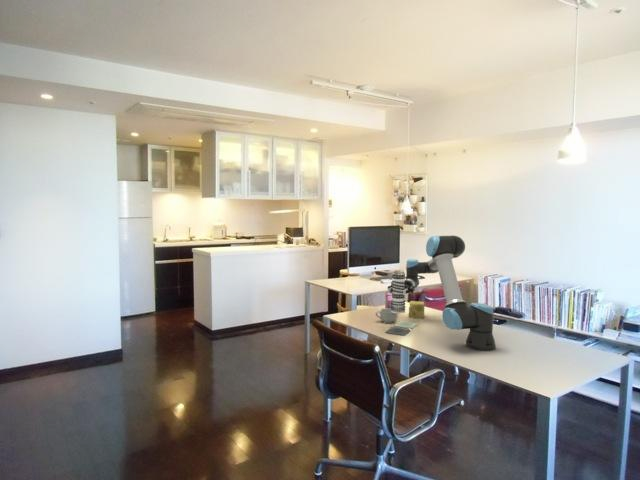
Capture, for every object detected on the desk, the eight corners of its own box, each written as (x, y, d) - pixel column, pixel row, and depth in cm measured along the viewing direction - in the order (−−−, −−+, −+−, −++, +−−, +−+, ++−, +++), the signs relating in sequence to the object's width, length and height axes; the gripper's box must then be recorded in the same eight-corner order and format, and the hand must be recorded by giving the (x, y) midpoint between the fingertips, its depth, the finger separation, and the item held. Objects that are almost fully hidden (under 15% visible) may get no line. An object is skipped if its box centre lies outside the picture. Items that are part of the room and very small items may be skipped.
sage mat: (417, 324, 277) (417, 323, 277) (412, 329, 266) (412, 328, 266) (399, 322, 282) (399, 321, 282) (393, 326, 272) (393, 325, 272)
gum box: (397, 319, 290) (397, 299, 289) (385, 318, 291) (385, 298, 290) (395, 310, 314) (396, 292, 313) (384, 310, 315) (385, 291, 314)
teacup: (396, 320, 287) (396, 308, 287) (397, 324, 277) (397, 312, 276) (375, 319, 289) (375, 307, 288) (375, 323, 278) (375, 311, 277)
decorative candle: (408, 313, 256) (409, 271, 254) (394, 314, 254) (395, 272, 252) (401, 309, 265) (402, 269, 263) (387, 310, 263) (388, 270, 261)
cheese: (408, 318, 293) (408, 303, 292) (409, 314, 303) (410, 300, 302) (424, 319, 290) (424, 304, 289) (424, 315, 300) (425, 301, 299)
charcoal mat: (410, 330, 263) (410, 329, 263) (404, 335, 252) (404, 334, 252) (391, 328, 268) (391, 327, 268) (385, 333, 258) (385, 332, 258)
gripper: (423, 293, 269) (413, 300, 250) (391, 289, 280) (378, 296, 260) (424, 281, 269) (413, 287, 249) (391, 278, 279) (379, 284, 259)
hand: (396, 292), depth 254 cm, fingers closed on decorative candle, 9 cm apart
